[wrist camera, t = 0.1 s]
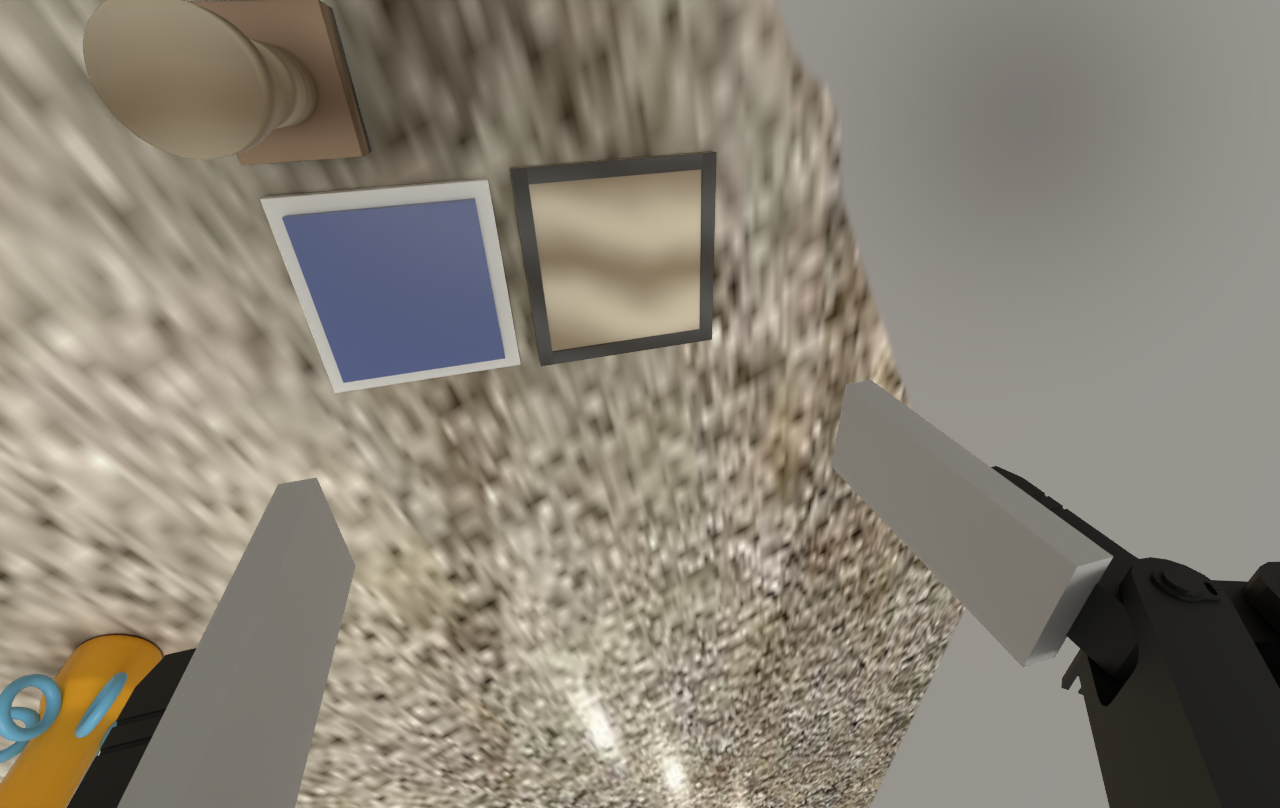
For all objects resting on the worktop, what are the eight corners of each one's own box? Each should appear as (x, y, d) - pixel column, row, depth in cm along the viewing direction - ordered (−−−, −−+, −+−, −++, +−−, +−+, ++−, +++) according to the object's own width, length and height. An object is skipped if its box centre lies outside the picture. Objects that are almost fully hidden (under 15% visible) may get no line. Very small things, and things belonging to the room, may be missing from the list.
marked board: (509, 167, 35) (510, 169, 34) (712, 151, 38) (716, 152, 37) (539, 361, 42) (541, 366, 41) (708, 335, 45) (711, 339, 44)
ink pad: (265, 196, 32) (255, 201, 31) (487, 177, 35) (488, 181, 33) (337, 386, 39) (332, 397, 37) (519, 359, 41) (521, 368, 40)
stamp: (206, 10, 28) (0, -55, 16) (332, 8, 29) (231, -54, 17) (261, 159, 31) (128, 199, 19) (371, 151, 32) (311, 184, 20)
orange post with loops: (228, 676, 49) (144, 876, 36) (105, 717, 47) (-27, 940, 35) (139, 589, 42) (-2, 797, 30) (-8, 634, 41) (-219, 872, 28)
